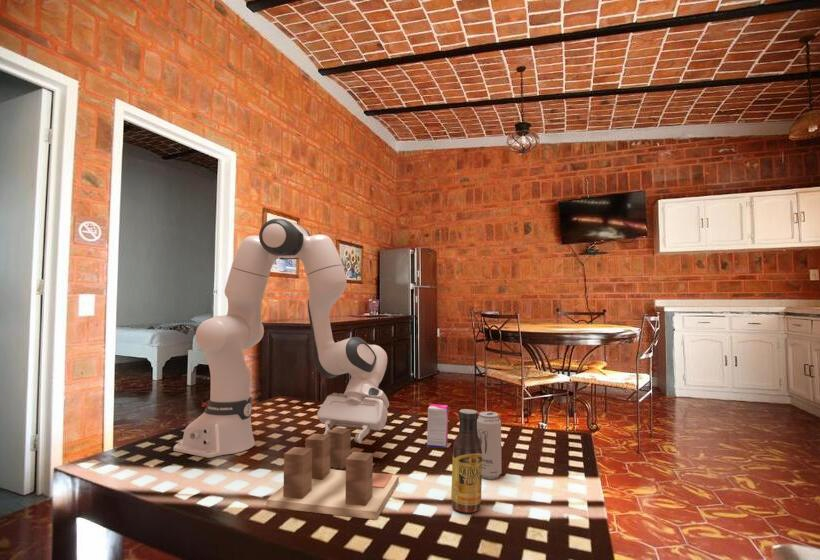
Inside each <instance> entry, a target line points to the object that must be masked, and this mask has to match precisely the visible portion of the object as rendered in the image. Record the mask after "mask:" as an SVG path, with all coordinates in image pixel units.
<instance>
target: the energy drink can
mask: <svg viewBox="0 0 820 560" xmlns="http://www.w3.org/2000/svg"><path fill="white" fill-rule="evenodd" d="M477 434H478V437H479V439H480V441H481V448H482V479H485V478H486V479H485V480H496V479H495V478H497V479H499V478H498V477H500V476H501V474H502V473H503V472H502V469H503V468H502V421H501V419H500V416H499V412H498V413H497V412H493V411H480V412H478V419H477ZM487 478H488V479H487Z"/></svg>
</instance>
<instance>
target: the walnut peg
mask: <svg viewBox="0 0 820 560" xmlns="http://www.w3.org/2000/svg"><path fill="white" fill-rule="evenodd" d="M351 430H352V429H351V428H344V427H338V426H336V427H335V428H332V429H330V431H328V435H330V468H331V467H333V468H332V469H337V468H339V469H338V470H343V469H344V468H346V458H347V457H348V456H350V455H351V454H352V452H351V449H352V447H351V446H352V444H351V442H352V440H351V438H352V437H351V435H352V434H351V433H352V431H351Z"/></svg>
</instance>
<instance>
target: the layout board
mask: <svg viewBox="0 0 820 560" xmlns="http://www.w3.org/2000/svg"><path fill="white" fill-rule="evenodd" d="M304 439H305V442H304V444H305V447H300V446H299V447H298V446H297V447H296V446H292V448H290V449H288V451H286V452H284V453H283V486H281V487H280V488H279V489H278V490H276V491H275V492H274V493H273V494H272V495H270V496H269V497H268V498H267V499H266V508H275V509H283V510H290V511H291V510H292V511H299V512H307V513H317V514H325V515H334V516H341V517H342V516H343V517H348V518H349V517H350V518H359V519H368V520H378V518H379V516H380V515H381V513H382V511H383V510H384V507H385V506H386V505H387V503H388V501H389V499H390V498H391V496H392V494H393V492H394V491H395V489H396V487H397V486H398V484H399V481H400V480H399V479H400V478H399V477H400V476H399V475H393V474H389V473H388V474H387V473H375V472H373V466H374V465H373V463H374V461H373V460H374V453H372V452H360V451H353V452H351V453H350V456H348V457H347V458H346V467H345V470H343V469H331V467H330V435H326V434H324V433H312V434H311V435H309V436H307V438H304Z"/></svg>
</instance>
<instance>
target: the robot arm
mask: <svg viewBox="0 0 820 560" xmlns="http://www.w3.org/2000/svg"><path fill="white" fill-rule="evenodd" d="M234 255H235V256H234V258H233V261H232V264H231V267H230V271H229V274H228V278H227V281H226V285H225V288H224V295H225V297H226V298H227V299H226V300H227V313H226V315H217V316H213V317H211V318H208V319H206V320H204V321H202V322H201V323H200V324H199V325H198V326H197V328H196V331H195V334H194V335H195V337H194V339H195V342H196V345H197V346H198V348H199V350H201V351H202V352H203V353H204V355H205V358H206V360H207V363H208V368H209V374H210V375H209V376H210V392H209V393H210V395H209V396H210V398H209V399H208V400H206V401H205V402H202V403H201V407H203V408H204V407H205V409H204V412H203V413H202V414H201V415H199V416H198V417H197V418H195V419H194V420H193V421H192V422H190V423H189V424H188V425H186V427H185V429H184V432H183V437H182V440H181V441H179V442H178V443H176V444H175V445H174V446H173V449H172V450H173V451H174V452H178V453H183V454H189V455H193V456H199V457H202V458H203V457H204V458H207V459H208V458H215V457H219V456H223V455H224V456H225V455H232V454H238V453H241V452H244V451H247V450H249V449H251V448H253V447H254V446H255V445H256V441H255V438H254V434H253V428H252V418H251V417H252V409H253V408H252V407H253V398H252V396H251V389H252V388H251V387H252V386H251V384H252V383H251V381H252V373H251V370H250V368H249V367H248V366H247V364H246V362H245V357H244V351H243V350H248V349H251V348H253V347H255V346H256V345H257V344H258V343H259V342H260V341H261V340H262V339H263V337H264V333H265V329H264V328H265V327H264V324H263V323H262V322H263V321H262V305H263V300H264V295H265V293H266V288H267V285H268V281H269V278H270V274H271V271H272V269H273V265H274V263H276V261H277V260H278V259H280V260H281V261H282V260H298V259H299V260H300V262H301V263H302V265H303V268H304V272H305V274H306V278H307V283H308V290H309V291H308V292H309V293H308V295H309V296H308V300H307V310H308V311H307V312H308V319H309V325H310V329H311V335H312V341H313V351H314V353H313V354H314V355H313V357H314V358H313V362H314V366H315V368H316V371H317V372H318V374H320V375H321V376H322V377H323V378H325V379H333V378H336V377H338V376H341V375H344V374H349V375H350V379H349V382H348V384H347V386H346V388H345V391H344V393H340V392H339V393H337V392H332V393H331V394H329V395H327V396H326V398H325V400H324V401H323V402H322V404H321V406H320V407H319V410H318V411H317V414H316V416H317V420H319V422H320V423H322V424H324V426H325V428H324V429H325V431H324V433H323V434H326V435H328V431H330V430H331V428H332V429H333V426H339V427H340V426H341V427H347V428H348V427H349V428H357V429H362V430H361V431H360V432H359V433H355V437H354V438H353V440H354V442H355V443H356V444H361V443H362V441H363V439H364V438H365V437H366V436H367V435H369V434H370V431H371V430H374V431H381V430H383V429H384V428H385V426H386V423H387V419H388V414H389V413H388V412H389V410H388V408H389V406H390V402H389V400H388V399H389V398H388V396H387V395H386V394H385V392H384V391H383V390H382V389H380V388H379V385H380V384H381V382H382V380H383V378H384V376H385V373H386V370H387V365H388V355H387V352H386V351H385V350H384V349H383V348H382V347H381V346H380V345H377V344H370V343H367V341H366V340H364V339H363V338H361V337H358V336H353V337H349V338H345V339H343V340H340V341H337V342H335V340H334V338H333V332H332V326H331V320H330V312H331V310H332V308H333V306H334V305H335V303H336V302H337V301H338V300H339V299H340V298H341V297H342V296H343V294H344V293H345V290H346V288H347V285H348V284H347V274H346V271H345V267H344V265H343V262H342V259H341V257H340V253H339V252H338V249H337V248H336V245H335V244H334V241H333V240H332V238H330V237H329V236H328V235H327V234H326V235H325V234H323V233H322V234H320V233H319V234H313V235H311V234H310V233H309V231H308V229H306V228H304V227H303V226H301V225H299V224H298V223H296V222H293V221H289V220H287V219H284V218H271V219H269V220H268V221H266V222H265V223H264V224H263V225H262V226H261V228H260V230H259V233H258V235H248V236H246V237H245V238H243V240H242V241H241V242H240V245H239V247H238V249H237V251H236V253H235V254H234Z"/></svg>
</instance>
